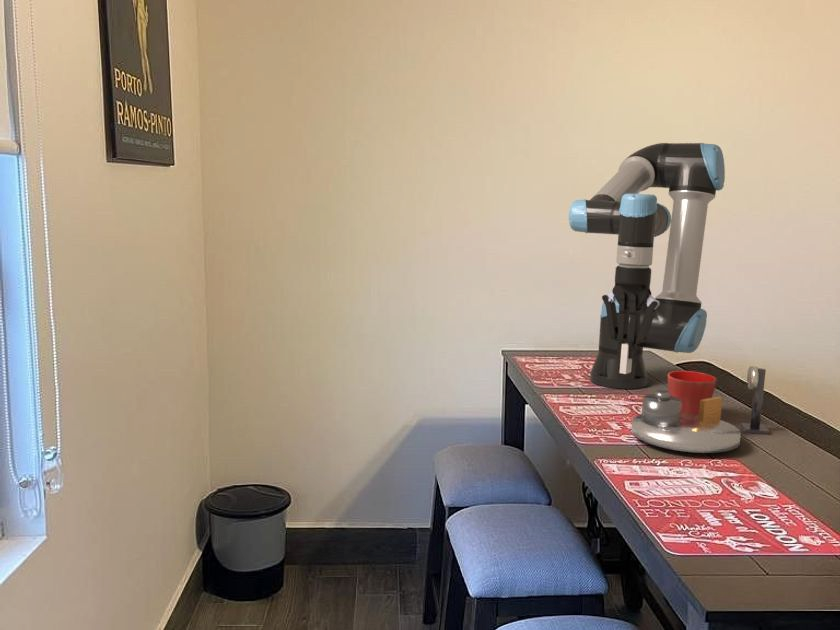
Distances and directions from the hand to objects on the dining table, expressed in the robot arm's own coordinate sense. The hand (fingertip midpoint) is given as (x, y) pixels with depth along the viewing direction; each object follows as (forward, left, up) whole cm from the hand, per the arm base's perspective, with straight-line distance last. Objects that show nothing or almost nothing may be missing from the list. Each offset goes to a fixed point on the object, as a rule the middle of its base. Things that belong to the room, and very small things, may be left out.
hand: (625, 372), depth 184 cm
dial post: (-5, +30, -12) cm, 32 cm away
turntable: (+7, +13, -11) cm, 18 cm away
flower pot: (-13, +17, -13) cm, 25 cm away
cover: (+5, +8, -9) cm, 13 cm away
